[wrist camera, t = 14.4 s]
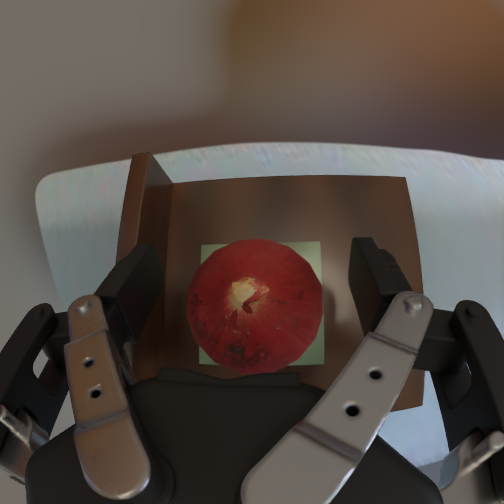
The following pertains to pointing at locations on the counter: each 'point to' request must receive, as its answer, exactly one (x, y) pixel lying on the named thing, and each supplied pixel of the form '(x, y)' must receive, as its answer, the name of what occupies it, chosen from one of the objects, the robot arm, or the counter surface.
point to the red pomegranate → (255, 306)
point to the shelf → (274, 229)
